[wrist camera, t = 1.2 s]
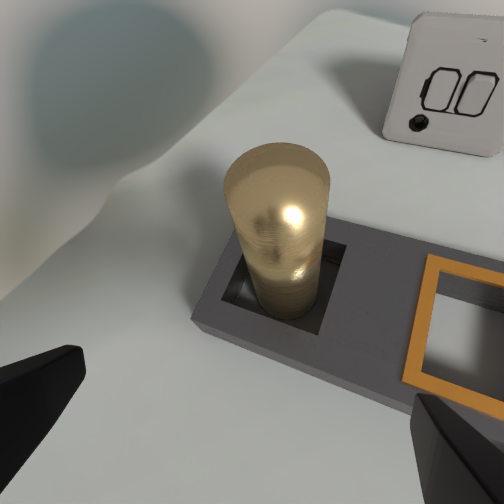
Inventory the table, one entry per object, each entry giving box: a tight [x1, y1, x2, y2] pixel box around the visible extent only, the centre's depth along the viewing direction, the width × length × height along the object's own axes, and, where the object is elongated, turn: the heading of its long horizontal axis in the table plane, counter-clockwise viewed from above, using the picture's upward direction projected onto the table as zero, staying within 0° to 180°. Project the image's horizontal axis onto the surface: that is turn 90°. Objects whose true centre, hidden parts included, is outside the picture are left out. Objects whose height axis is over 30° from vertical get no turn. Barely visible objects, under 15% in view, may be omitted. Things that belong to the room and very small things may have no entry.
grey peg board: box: [190, 216, 504, 453], centre depth 21 cm, size 21×10×3 cm, turn 67°
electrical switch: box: [382, 12, 504, 157], centre depth 26 cm, size 9×5×9 cm, turn 68°
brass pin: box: [224, 143, 330, 319], centre depth 19 cm, size 4×4×12 cm
